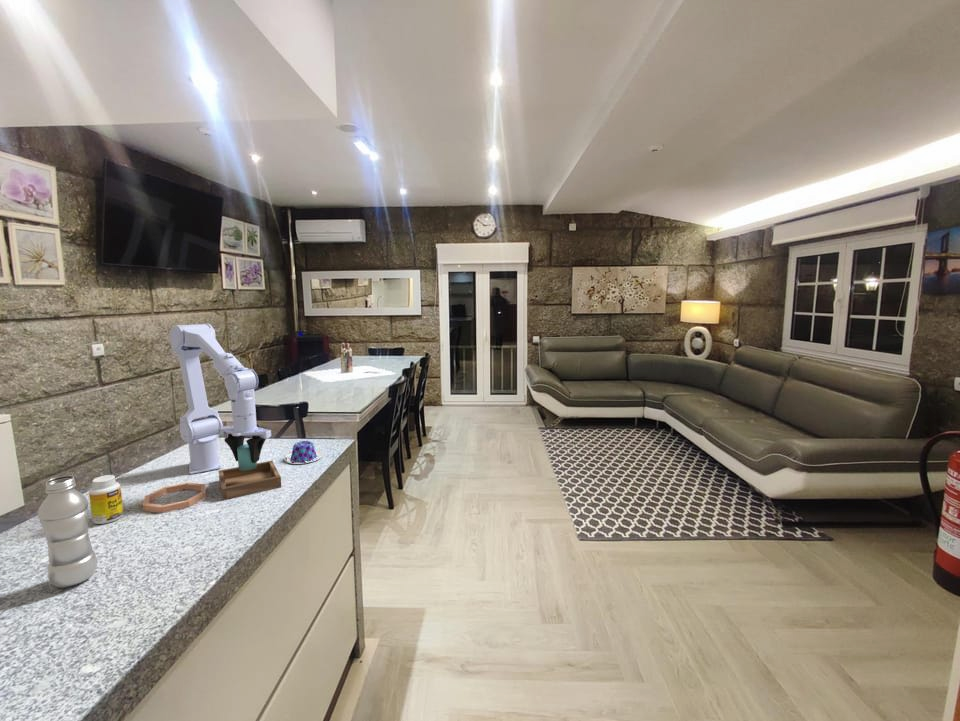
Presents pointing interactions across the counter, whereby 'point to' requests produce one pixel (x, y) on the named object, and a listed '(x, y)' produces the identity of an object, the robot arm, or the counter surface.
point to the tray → (249, 480)
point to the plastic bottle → (66, 533)
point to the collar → (177, 505)
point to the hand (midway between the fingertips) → (247, 460)
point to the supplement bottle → (105, 500)
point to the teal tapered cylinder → (245, 458)
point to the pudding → (303, 452)
